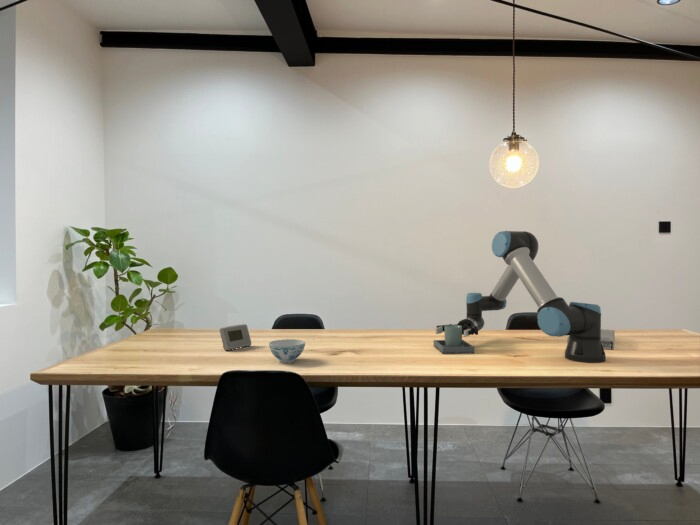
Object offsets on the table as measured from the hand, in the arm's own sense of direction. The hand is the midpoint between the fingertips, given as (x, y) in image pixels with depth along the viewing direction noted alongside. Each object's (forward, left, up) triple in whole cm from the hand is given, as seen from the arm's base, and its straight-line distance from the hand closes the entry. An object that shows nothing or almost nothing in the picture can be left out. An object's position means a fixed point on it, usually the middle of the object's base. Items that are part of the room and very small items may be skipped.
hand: (450, 332), depth 213 cm
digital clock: (+15, +99, -9) cm, 100 cm away
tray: (+3, -2, -8) cm, 9 cm away
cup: (+3, -2, -8) cm, 8 cm away
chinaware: (-14, +72, -8) cm, 74 cm away
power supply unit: (+14, -74, -9) cm, 75 cm away
